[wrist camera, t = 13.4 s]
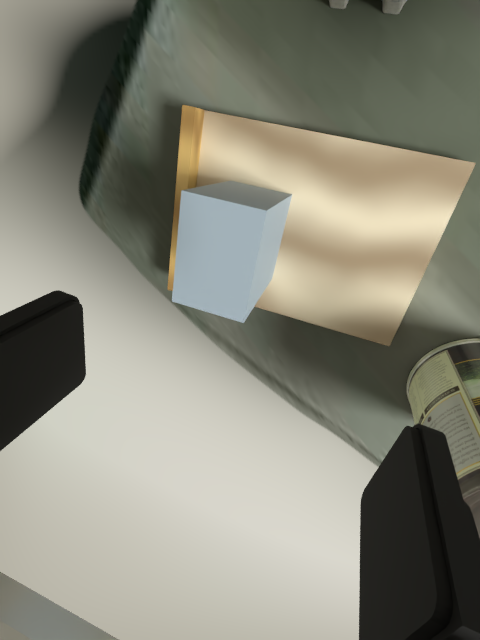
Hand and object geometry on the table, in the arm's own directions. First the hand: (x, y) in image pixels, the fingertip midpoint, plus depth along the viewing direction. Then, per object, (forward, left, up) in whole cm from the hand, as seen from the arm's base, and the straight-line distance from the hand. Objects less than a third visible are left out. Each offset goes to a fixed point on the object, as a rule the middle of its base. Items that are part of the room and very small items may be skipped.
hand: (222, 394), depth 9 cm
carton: (0, -4, -20) cm, 21 cm away
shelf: (0, -1, -22) cm, 22 cm away
